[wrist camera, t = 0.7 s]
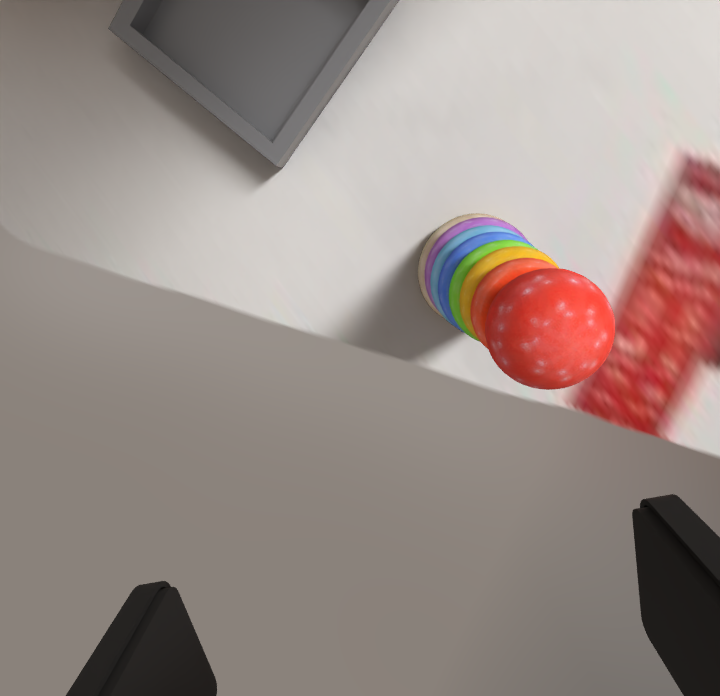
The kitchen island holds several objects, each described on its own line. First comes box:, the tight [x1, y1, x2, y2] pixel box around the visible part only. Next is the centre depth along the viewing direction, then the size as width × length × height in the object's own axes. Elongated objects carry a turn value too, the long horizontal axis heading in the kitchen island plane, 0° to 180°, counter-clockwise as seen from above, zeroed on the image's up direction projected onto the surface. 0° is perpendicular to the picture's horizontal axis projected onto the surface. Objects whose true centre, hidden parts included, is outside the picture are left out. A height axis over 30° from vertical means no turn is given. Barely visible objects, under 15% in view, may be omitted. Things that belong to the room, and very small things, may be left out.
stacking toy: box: [418, 214, 615, 390], centre depth 27 cm, size 8×8×19 cm
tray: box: [108, 0, 399, 168], centre depth 30 cm, size 13×13×2 cm
